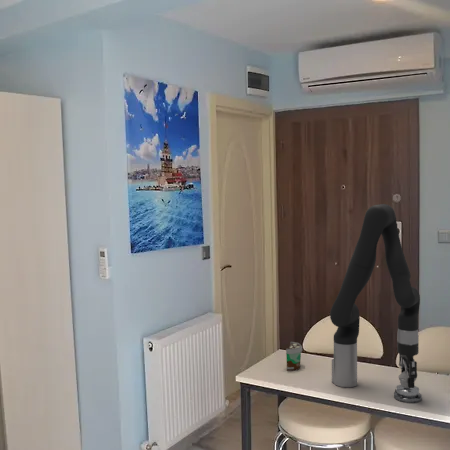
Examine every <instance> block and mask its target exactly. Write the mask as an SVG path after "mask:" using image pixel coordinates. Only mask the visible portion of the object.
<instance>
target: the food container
mask: <svg viewBox="0 0 450 450" xmlns="http://www.w3.org/2000/svg"><path fill="white" fill-rule="evenodd" d="M285 350H286V351H285V352H286V353H285V356H286V371H287V372H291V371H293V372H294V371H297V370H298V371H299V370H300V369H301V358H302V355H301V354H302V352H303V347H302V345H301V343H299V342H295V341H290V343H289V346H288V348H285Z"/></svg>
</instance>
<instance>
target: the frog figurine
mask: <svg viewBox="0 0 450 450" xmlns="http://www.w3.org/2000/svg"><path fill="white" fill-rule="evenodd" d="M411 374H413V373H412V372H411ZM398 380H399V383H400V384H399V385H402V386H403V387H404V388H409V387H408V375H407V372H406V371H404V372H402V373H400V374H399V375H398ZM416 380H417V378H414V383H415V381H416Z"/></svg>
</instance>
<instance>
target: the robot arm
mask: <svg viewBox="0 0 450 450" xmlns="http://www.w3.org/2000/svg"><path fill="white" fill-rule="evenodd" d="M397 223H398V222H397V217H396V212H395V209H394V208H393V207H392V206H390V205H389V204H386V203H385V204H384V203H381V204H374V205H371V206H370V207H369V208H368V209H367V210H366V212H365V214H364V218H363V223H362V226H361V229H360V234H359V237H358V240H357V241H356V245H355V248H354V251H353V254H352V256H351V258H350V260H349V263H348V265H347V266H348V267H347V269H346V272H345V276H344V277H343V281H342V284H341V286H340V289H339V292H338V294H337V296H336V299H335V300H334V302H333V304H332V306H331V308H330V311H329V317H330V322H331V323H332V324H333V325H334V326H335V327H337V330H336V331H335V332H334V334H333V358H332V359H331V383H333V384H334V385H335V386H337V387H340V388H354V387H356V386H358V337H359V334H360V310H359V308H358V305H357V304H356V300H357V298H358V297H359V295H360V293H361V292H362V291H363V289H365V287H366V286H367V283H369V281H370V278H371V277H372V274H373V271H374V268H375V266H376V264H377V263H376V262H377V246H378V244H379V243H378V242H379V240H380V239H381V238H382V240H383V243H384V245H383V246H384V253H385V254H384V256H385V263H386V266H387V270H388V273H389V275H390V278H391V281H392V290H393V294H394V298H395V301H396V303H397V304H398V306H400V312H399V314H398V317H397V334H396V335H397V336H396V338H397V339H396V349H397V351H396V352H397V353H398V356H399V362H398V365H399V367H400V372H401V373H402V372H404V371H406V372H407V375H408V387H409V388H414V386H415V382H414V378H416V379H417V378H418V365H417V364H418V362H417V361H416V360H415V359H414V357H415V356H417V355H419V350H420V349H419V341H420V339H419V335H420V334H419V320H418V319H419V318H418V317H419V311H420V305H421V295H420V292H419V290H418V289H417V288H416V287H414V286H412V285H411V271H410V269H409V266H408V263H407V258H406V257H405V254H404V251H403V246H402V243H401V239H400V234H399V230H398V229H399V228H398V224H397ZM381 236H382V237H381ZM380 237H381V238H380ZM411 372H412V373H413V374H411ZM401 373H400V374H401Z"/></svg>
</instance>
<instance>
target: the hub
mask: <svg viewBox="0 0 450 450" xmlns="http://www.w3.org/2000/svg"><path fill="white" fill-rule="evenodd" d="M393 398H394V399H395V400H396V401H398V402H401V403H407V404H415V403H420V402H421V401H423V395H422V394H421V393H420V388H419V387H418V386H416V385H414V388H404V387H403V386H402V385H401V384H398V385H396V388H395V390H394V392H393Z"/></svg>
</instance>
